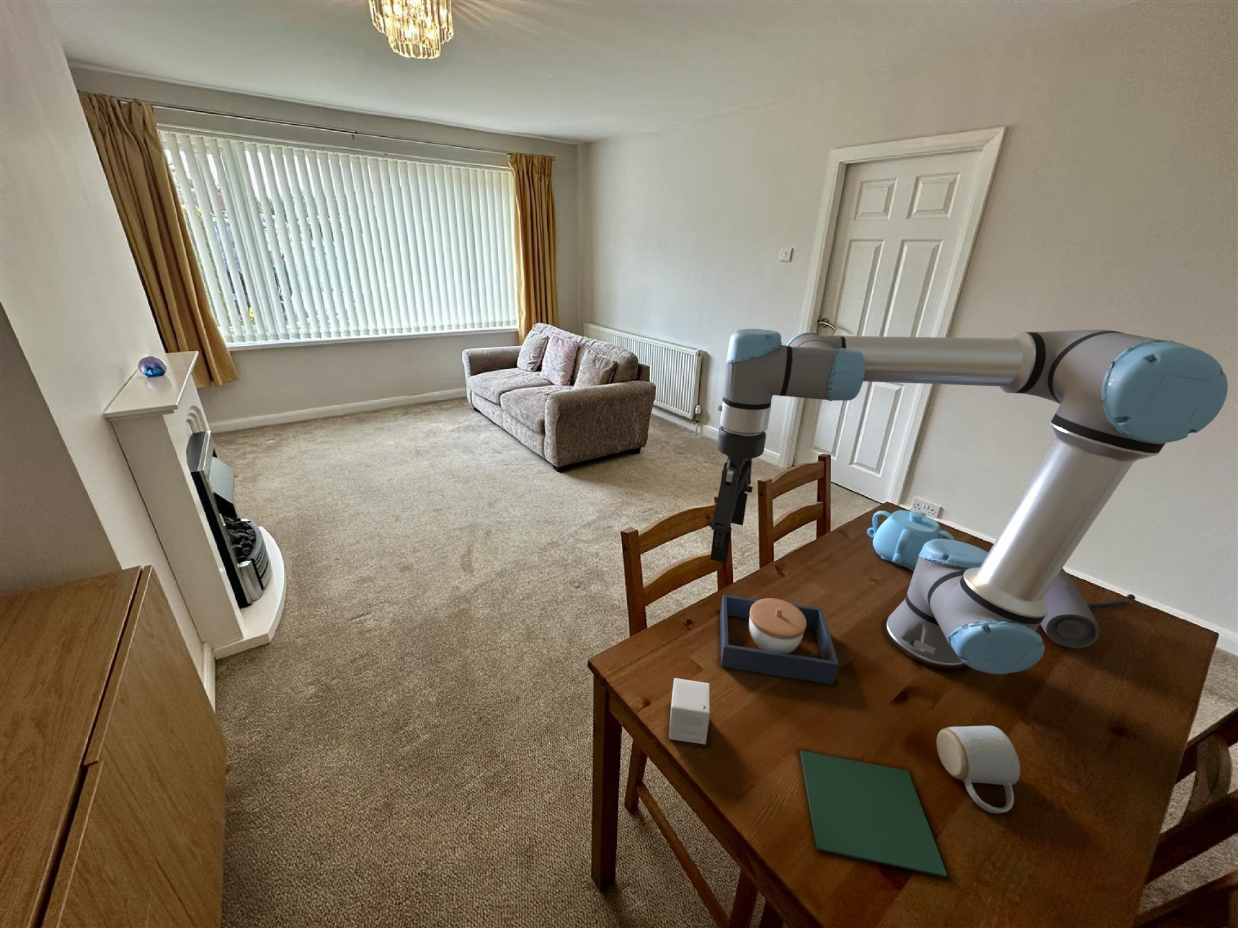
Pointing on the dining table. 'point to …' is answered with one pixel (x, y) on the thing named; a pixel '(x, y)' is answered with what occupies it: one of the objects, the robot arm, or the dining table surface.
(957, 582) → the robot arm
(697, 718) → the product box
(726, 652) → the storage box
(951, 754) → the ceramic mug
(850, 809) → the mat
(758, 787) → the dining table surface
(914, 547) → the decorative pot
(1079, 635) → the bluetooth speaker
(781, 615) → the trinket box
